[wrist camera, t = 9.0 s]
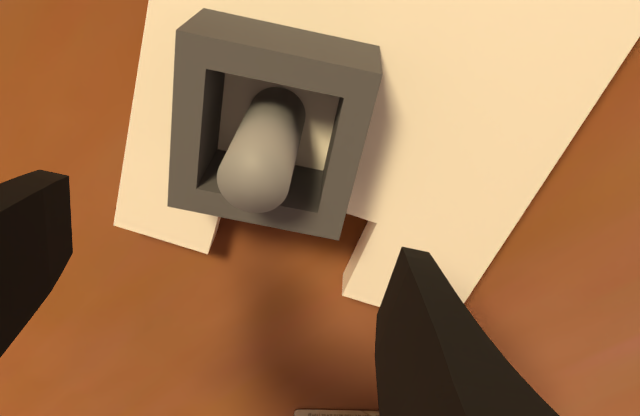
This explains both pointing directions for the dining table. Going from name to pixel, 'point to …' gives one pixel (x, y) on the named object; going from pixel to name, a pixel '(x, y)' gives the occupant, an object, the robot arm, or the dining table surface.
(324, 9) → the shelf board
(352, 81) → the grey square frame
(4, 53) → the dining table surface
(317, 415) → the coffee box
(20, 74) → the dining table surface
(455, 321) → the robot arm
